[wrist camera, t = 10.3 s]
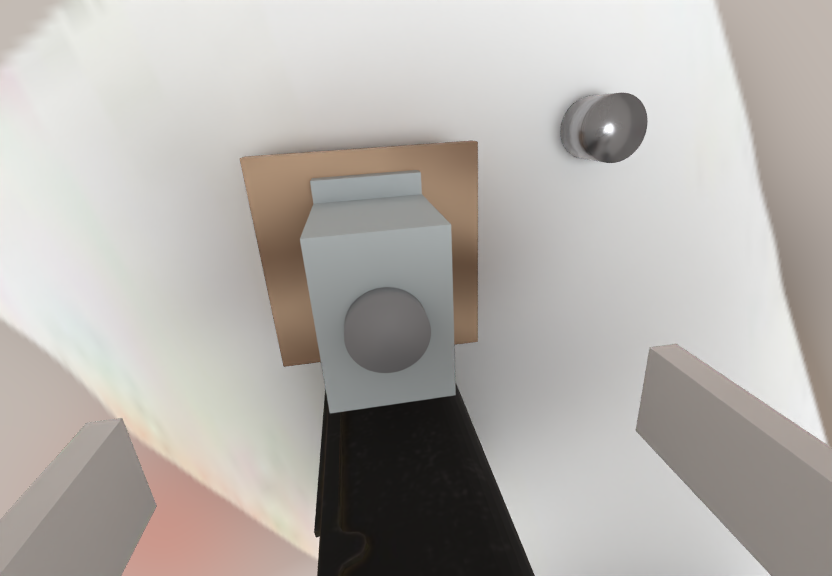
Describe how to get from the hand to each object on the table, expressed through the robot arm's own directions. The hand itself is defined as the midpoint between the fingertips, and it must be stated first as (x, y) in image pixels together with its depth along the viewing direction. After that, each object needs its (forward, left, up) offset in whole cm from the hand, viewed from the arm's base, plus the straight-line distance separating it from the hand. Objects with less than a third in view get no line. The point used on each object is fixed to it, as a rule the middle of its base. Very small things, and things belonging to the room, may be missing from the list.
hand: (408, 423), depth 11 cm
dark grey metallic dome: (+6, -14, -17) cm, 23 cm away
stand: (0, 0, -17) cm, 17 cm away
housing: (0, 0, -12) cm, 12 cm away
